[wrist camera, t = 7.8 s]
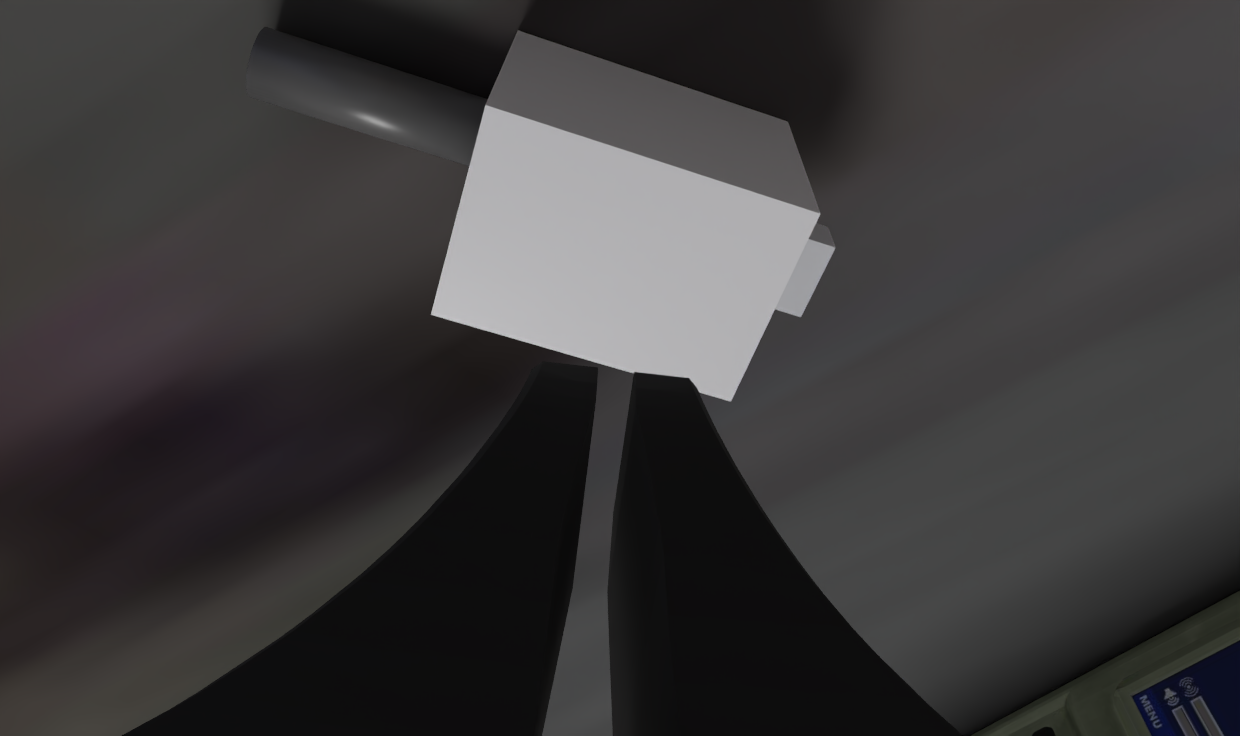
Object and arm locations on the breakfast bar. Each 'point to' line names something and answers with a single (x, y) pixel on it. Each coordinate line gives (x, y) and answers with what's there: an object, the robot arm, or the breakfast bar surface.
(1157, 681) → the handheld radio
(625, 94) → the plug
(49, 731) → the breakfast bar surface
